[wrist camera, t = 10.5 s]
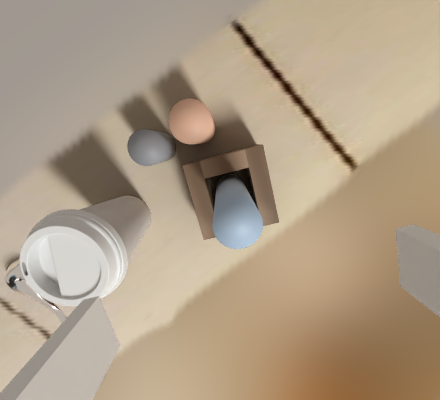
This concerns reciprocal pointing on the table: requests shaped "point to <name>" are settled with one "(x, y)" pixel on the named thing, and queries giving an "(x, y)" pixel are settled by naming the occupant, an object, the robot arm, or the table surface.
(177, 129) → the medium dowel
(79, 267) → the coffee cup
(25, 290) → the silver metal utensil
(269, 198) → the socket block
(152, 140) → the short dowel
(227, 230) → the tall dowel
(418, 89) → the table surface
